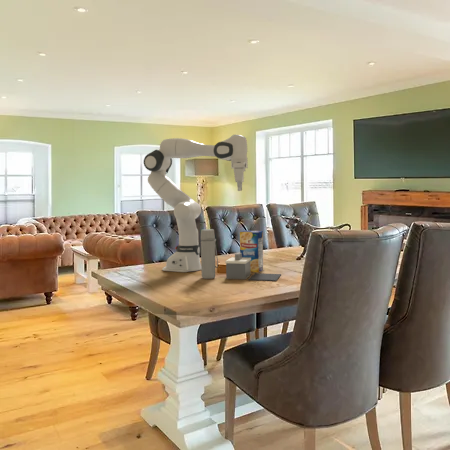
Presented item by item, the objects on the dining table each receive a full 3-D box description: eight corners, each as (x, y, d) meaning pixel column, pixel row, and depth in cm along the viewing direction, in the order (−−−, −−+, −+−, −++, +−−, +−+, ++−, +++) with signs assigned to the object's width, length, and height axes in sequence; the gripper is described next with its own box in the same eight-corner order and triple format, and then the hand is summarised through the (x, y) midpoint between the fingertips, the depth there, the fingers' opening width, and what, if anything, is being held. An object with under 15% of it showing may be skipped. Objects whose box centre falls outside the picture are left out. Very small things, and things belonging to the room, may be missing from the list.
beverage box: (258, 272, 256) (258, 232, 254) (240, 271, 261) (239, 231, 259) (263, 270, 262) (262, 231, 261) (245, 269, 267) (244, 230, 265)
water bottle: (205, 279, 239) (204, 230, 237) (198, 277, 246) (197, 229, 244) (221, 278, 243) (220, 229, 241) (214, 275, 250) (213, 228, 248)
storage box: (226, 278, 241) (226, 263, 240) (232, 274, 252) (232, 259, 252) (245, 279, 238) (245, 263, 237) (250, 274, 250) (250, 259, 249)
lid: (225, 265, 240) (225, 255, 240) (231, 261, 252) (231, 251, 252) (245, 266, 237) (245, 255, 237) (251, 262, 249) (250, 252, 249)
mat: (248, 280, 236) (248, 279, 236) (255, 274, 251) (255, 273, 251) (276, 281, 232) (276, 280, 232) (281, 275, 247) (281, 274, 247)
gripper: (234, 166, 264) (235, 190, 266) (232, 164, 244) (232, 191, 245) (245, 165, 264) (246, 190, 265) (244, 164, 244) (245, 191, 245)
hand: (239, 190), depth 255 cm, fingers open, 8 cm apart
